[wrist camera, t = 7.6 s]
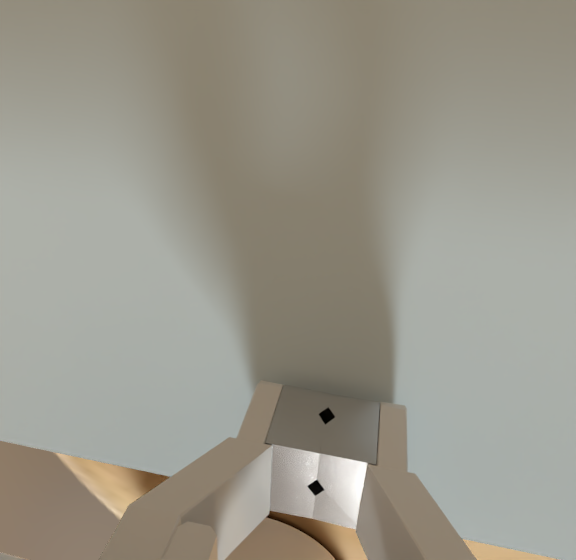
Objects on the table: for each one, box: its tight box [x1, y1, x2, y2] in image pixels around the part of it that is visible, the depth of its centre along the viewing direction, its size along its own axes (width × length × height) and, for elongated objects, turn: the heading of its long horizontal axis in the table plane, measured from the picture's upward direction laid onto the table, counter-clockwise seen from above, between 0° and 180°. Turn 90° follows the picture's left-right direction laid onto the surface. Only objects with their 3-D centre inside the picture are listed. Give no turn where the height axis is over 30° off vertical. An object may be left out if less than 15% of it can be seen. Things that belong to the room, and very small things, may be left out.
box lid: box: [0, 0, 576, 560], centre depth 10 cm, size 16×18×1 cm
